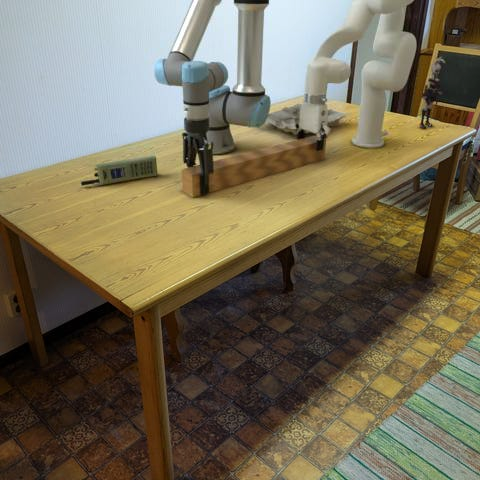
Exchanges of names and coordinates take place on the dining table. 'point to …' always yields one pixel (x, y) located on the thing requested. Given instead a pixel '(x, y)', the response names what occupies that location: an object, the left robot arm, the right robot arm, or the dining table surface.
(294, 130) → the grey rock slab
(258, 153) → the post
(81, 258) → the dining table surface
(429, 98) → the figurine
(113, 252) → the dining table surface
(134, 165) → the handheld radio
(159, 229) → the dining table surface
